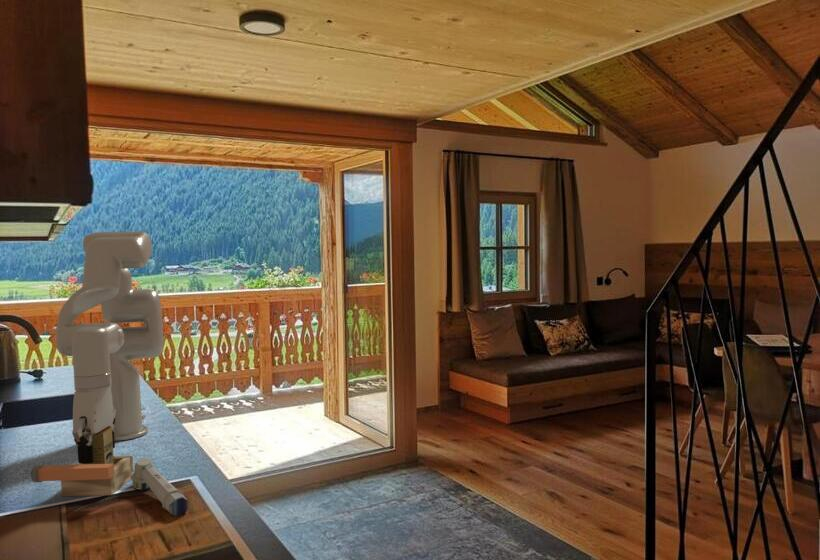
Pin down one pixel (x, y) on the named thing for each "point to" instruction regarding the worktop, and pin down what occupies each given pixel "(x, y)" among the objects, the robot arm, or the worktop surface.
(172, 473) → the worktop surface
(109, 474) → the bar
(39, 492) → the worktop surface
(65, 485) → the socket
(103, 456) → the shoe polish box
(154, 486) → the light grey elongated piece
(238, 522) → the worktop surface
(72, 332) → the robot arm
